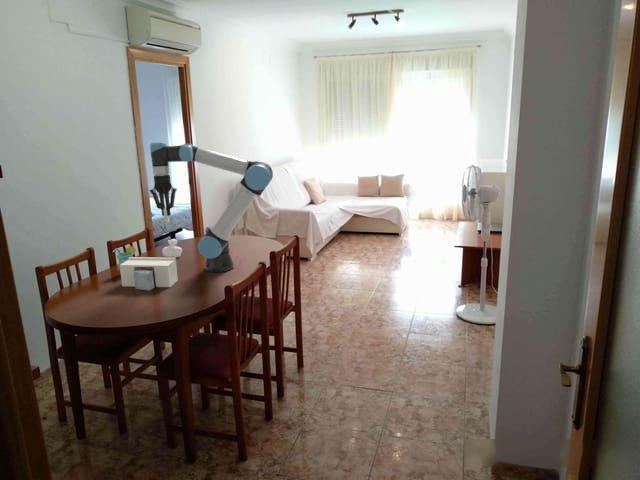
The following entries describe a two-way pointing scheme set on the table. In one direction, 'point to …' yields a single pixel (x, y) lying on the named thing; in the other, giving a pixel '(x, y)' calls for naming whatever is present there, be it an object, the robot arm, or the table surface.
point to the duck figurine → (172, 249)
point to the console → (161, 270)
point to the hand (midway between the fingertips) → (167, 222)
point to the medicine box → (144, 279)
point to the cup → (125, 254)
